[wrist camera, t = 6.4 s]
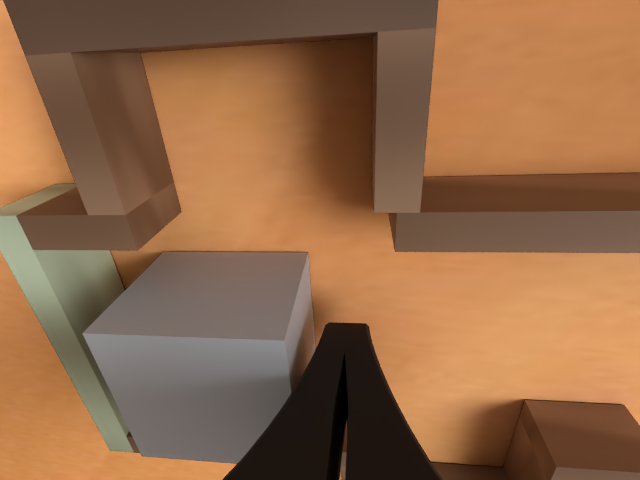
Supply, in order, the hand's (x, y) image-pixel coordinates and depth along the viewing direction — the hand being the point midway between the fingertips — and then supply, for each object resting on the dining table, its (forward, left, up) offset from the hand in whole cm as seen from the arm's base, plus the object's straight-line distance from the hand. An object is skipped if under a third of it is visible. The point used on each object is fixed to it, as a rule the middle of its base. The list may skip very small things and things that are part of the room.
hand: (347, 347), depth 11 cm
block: (0, +4, -2) cm, 4 cm away
